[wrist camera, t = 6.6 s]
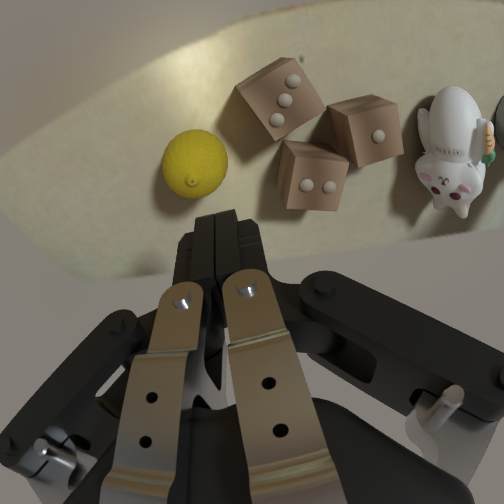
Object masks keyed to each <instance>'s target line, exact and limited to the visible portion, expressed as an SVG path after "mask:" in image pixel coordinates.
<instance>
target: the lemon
mask: <svg viewBox="0 0 504 504" xmlns="http://www.w3.org/2000/svg"><path fill="white" fill-rule="evenodd" d="M227 168H228V157H227V153H226V150H225V147H224V146H223V144H222V142H221V141H220V140H219V139H218V138H217V137H216V136H215V135H213V134H211V133H210V132H208V131H204V130H188V131H184V132H182V133H181V134H179V135H177V136H176V137H175V138H174V139H172V140H171V141H170V143H169V144H168V146H167V147H166V149H165V151H164V154H163V158H162V172H163V176H164V179H165V181H166V183H167V185H168V186H169V187H170V188H171V190H172V191H173V192H175V193H176V194H178V195H180V196H182V197H185V198H191V199H196V198H202V197H205V196H208V195H209V194H211V193H212V192H214V191H215V190H216V189H217V188H218V187H219V186H220V185H221V183H222V181H223V179H224V178H225V175H226V172H227Z"/></svg>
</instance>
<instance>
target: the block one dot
mask: <svg viewBox="0 0 504 504" xmlns="http://www.w3.org/2000/svg"><path fill="white" fill-rule="evenodd" d="M327 106H328V109H329V113H330V117H331V121H332V124H333V128H334V132H335V136H336V140H337V145H338V149H339V151H340V152H341V153H343V154H344V155H345V156H346V157H347V158H348V159H349V160H350V161H352V162H353V163H354V164H355V165H356V166H357V167H358V168H360V167H363V166H366V165H369V164H372V163H375V162H379V161H382V160H385V159H388V158H391V157H395V156H398V155H401V154H404V151H403V143H402V135H401V128H400V121H399V114H398V108H397V104H396V103H393V102H391V101H388V100H385V99H383V98H380V97H378V96H375V95H372V94H370V95H366V96H362V97H358V98H354V99H350V100H346V101H342V102H338V103H335V104H331V105H327Z"/></svg>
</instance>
